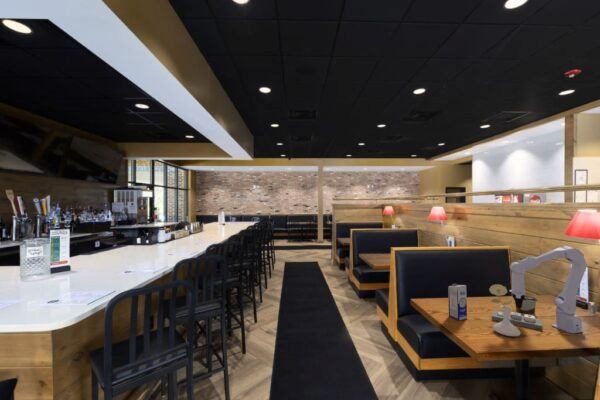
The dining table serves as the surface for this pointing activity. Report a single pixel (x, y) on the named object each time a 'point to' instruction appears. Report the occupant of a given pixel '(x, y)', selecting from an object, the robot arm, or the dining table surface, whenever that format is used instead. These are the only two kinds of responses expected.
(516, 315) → the grey key
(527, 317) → the cream key
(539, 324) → the keypad
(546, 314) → the dining table surface
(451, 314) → the milk carton
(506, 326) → the flower in vase
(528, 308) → the food container
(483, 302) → the dining table surface
